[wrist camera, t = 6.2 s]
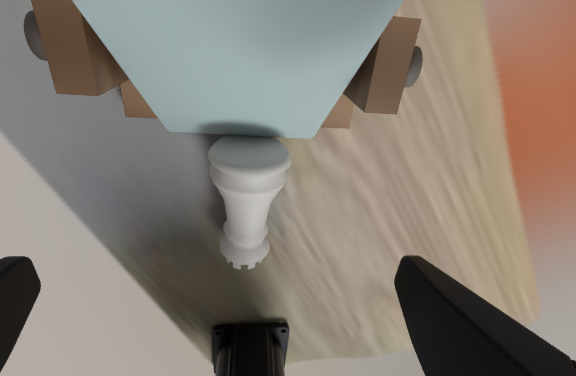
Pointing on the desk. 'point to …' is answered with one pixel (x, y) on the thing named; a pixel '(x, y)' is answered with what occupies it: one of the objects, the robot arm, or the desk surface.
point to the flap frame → (108, 74)
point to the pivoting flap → (240, 58)
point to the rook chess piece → (247, 192)
